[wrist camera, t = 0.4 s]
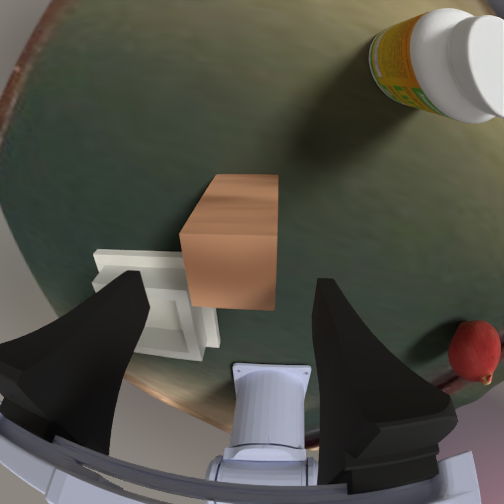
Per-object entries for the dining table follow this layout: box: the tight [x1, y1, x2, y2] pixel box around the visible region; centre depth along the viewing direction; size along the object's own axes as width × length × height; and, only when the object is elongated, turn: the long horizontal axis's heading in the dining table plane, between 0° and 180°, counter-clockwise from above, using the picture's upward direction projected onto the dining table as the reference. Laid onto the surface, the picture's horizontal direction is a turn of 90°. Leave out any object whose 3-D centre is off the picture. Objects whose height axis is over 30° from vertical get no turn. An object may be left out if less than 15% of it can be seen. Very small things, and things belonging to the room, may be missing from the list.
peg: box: [179, 174, 278, 311], centre depth 16 cm, size 4×4×8 cm
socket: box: [92, 249, 220, 361], centre depth 24 cm, size 10×10×3 cm
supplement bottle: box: [369, 8, 504, 123], centre depth 9 cm, size 5×5×10 cm
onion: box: [448, 321, 501, 385], centre depth 21 cm, size 6×6×8 cm
